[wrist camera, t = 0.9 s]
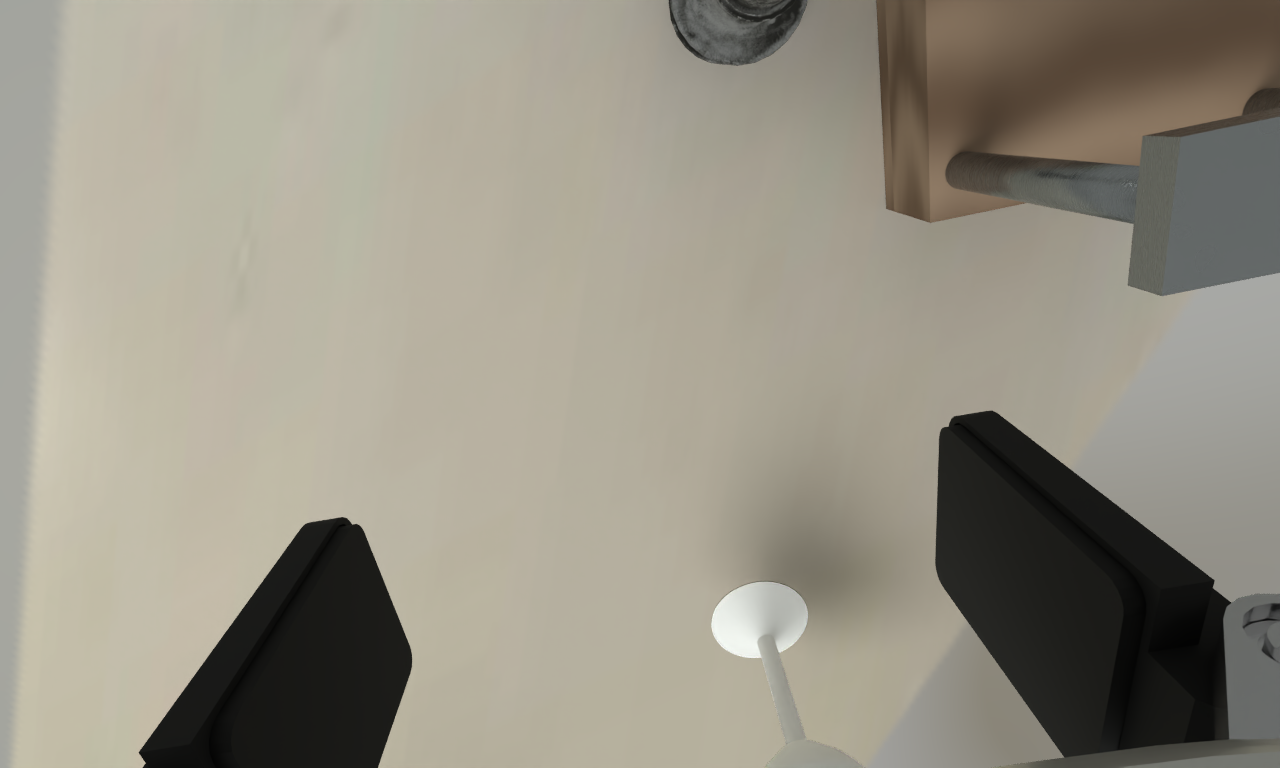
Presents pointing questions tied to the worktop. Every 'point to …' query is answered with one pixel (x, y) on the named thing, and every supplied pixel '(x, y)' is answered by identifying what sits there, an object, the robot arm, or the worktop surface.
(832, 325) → the worktop surface
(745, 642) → the champagne flute
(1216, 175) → the grey metal arch
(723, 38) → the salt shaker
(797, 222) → the worktop surface
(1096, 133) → the socket board
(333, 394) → the worktop surface
